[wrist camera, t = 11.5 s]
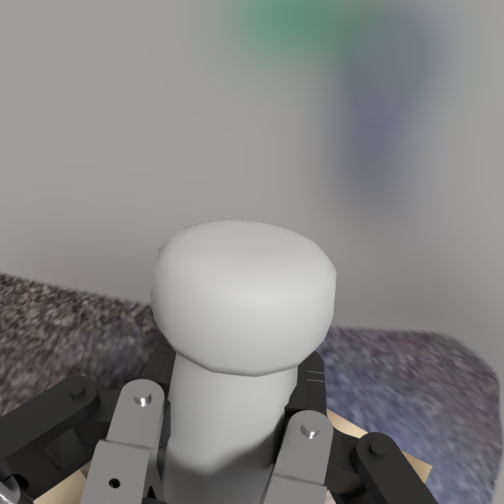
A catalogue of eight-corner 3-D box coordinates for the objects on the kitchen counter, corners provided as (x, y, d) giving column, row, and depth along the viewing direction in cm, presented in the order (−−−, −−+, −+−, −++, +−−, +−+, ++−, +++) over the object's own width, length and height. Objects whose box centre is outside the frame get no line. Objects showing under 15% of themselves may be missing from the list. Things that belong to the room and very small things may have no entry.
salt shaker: (220, 561, 8) (272, 379, 3) (135, 483, 12) (71, 225, 6) (300, 486, 13) (408, 251, 8) (218, 428, 16) (241, 192, 11)
